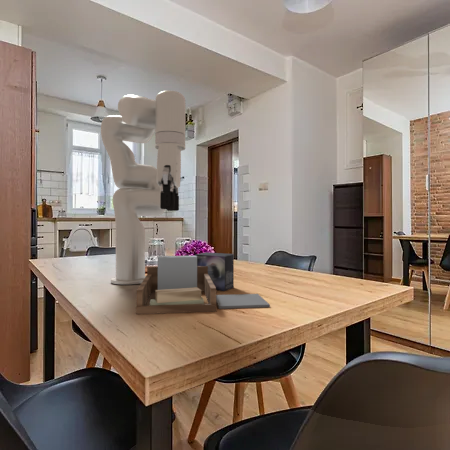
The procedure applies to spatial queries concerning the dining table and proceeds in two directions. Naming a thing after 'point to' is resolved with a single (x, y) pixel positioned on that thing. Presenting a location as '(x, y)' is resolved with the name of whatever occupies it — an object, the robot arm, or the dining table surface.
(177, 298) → the offcut upper
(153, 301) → the offcut lower
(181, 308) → the brown wooden tray
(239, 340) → the dining table surface
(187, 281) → the block
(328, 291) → the dining table surface
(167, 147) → the robot arm
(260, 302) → the pad
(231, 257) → the small box
